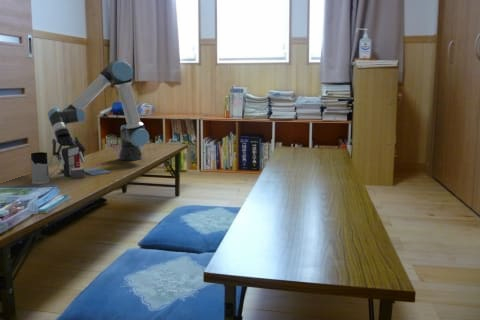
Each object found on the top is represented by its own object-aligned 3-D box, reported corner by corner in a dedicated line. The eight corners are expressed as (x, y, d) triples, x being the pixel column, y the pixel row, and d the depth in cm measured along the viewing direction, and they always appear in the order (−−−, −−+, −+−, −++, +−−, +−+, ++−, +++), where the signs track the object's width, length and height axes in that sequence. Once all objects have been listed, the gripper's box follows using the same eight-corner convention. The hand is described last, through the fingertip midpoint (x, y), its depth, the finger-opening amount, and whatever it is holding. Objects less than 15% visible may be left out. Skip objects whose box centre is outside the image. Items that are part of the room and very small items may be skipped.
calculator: (70, 176, 240) (68, 149, 237) (63, 175, 240) (61, 148, 238) (81, 172, 250) (79, 146, 247) (74, 171, 251) (72, 145, 248)
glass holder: (32, 180, 229) (30, 152, 227) (61, 179, 234) (60, 151, 232) (30, 184, 221) (28, 155, 219) (61, 182, 226) (59, 154, 224)
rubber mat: (98, 168, 263) (98, 167, 263) (110, 172, 252) (110, 171, 251) (80, 170, 256) (80, 169, 256) (91, 175, 244) (91, 174, 244)
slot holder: (71, 171, 255) (70, 162, 254) (84, 177, 240) (84, 168, 239) (59, 172, 251) (59, 163, 250) (73, 178, 236) (72, 169, 235)
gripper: (79, 134, 260) (92, 164, 252) (39, 137, 246) (50, 169, 237) (82, 126, 255) (95, 156, 247) (41, 129, 241) (53, 161, 232)
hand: (73, 163), depth 242 cm, fingers closed on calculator, 10 cm apart
